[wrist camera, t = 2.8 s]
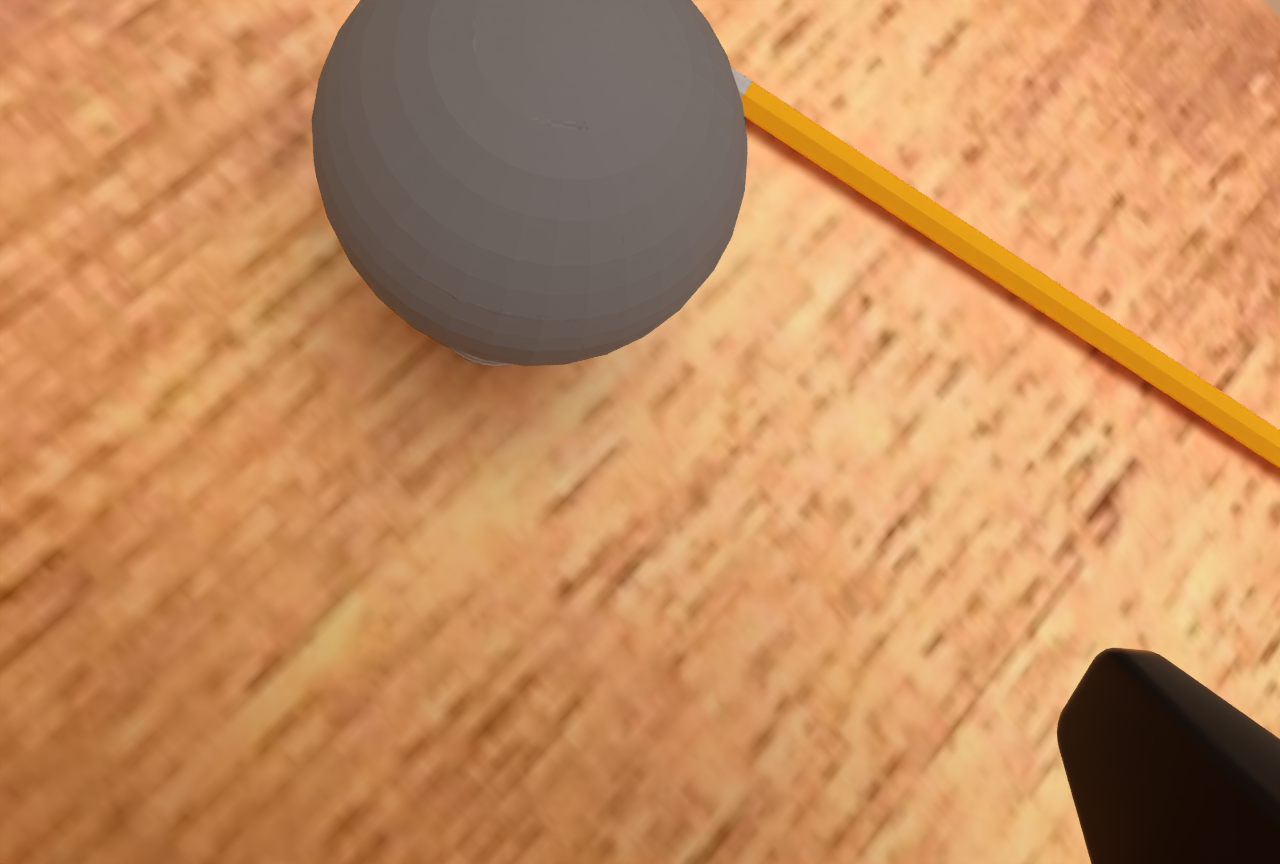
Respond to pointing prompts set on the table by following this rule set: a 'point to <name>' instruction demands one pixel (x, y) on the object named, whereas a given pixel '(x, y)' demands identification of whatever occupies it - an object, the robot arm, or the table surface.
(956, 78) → the table surface
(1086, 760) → the robot arm
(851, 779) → the table surface
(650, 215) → the light bulb
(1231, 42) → the table surface
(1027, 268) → the pencil
